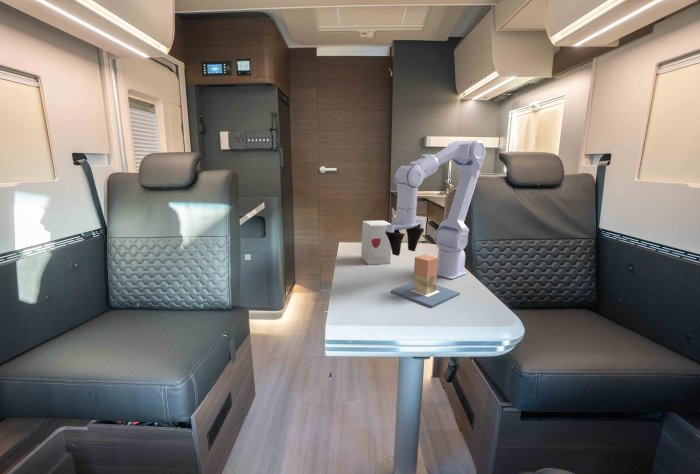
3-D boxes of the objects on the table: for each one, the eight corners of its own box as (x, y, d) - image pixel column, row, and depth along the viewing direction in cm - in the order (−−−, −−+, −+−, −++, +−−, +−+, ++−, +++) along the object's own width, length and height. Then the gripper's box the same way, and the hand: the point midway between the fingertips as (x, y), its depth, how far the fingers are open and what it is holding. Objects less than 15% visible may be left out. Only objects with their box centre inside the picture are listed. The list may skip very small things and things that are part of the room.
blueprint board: (419, 281, 107) (419, 279, 107) (459, 294, 97) (459, 292, 97) (390, 292, 98) (391, 289, 98) (431, 307, 88) (431, 305, 88)
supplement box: (367, 265, 122) (369, 224, 119) (360, 258, 131) (361, 220, 127) (391, 263, 125) (393, 224, 121) (382, 257, 133) (384, 219, 130)
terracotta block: (423, 270, 100) (424, 254, 99) (436, 274, 96) (437, 257, 95) (413, 273, 97) (414, 257, 96) (427, 278, 93) (428, 260, 92)
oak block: (422, 286, 101) (423, 270, 100) (435, 291, 98) (436, 274, 96) (412, 290, 98) (414, 273, 97) (426, 295, 95) (427, 278, 93)
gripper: (410, 204, 106) (408, 246, 109) (379, 208, 96) (377, 253, 99) (429, 207, 101) (426, 250, 104) (398, 211, 91) (396, 259, 94)
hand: (403, 252), depth 101 cm, fingers open, 7 cm apart
